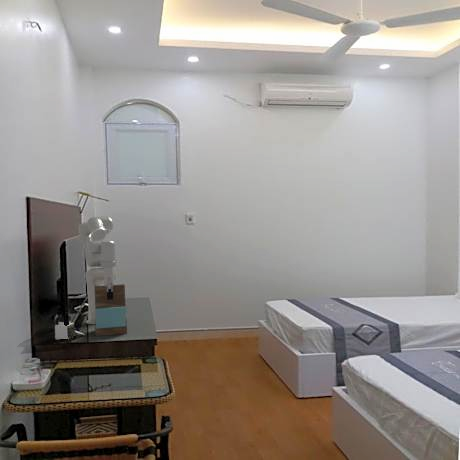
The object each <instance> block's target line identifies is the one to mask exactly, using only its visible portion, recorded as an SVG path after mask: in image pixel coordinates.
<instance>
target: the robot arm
mask: <svg viewBox="0 0 460 460" xmlns="http://www.w3.org/2000/svg"><path fill="white" fill-rule="evenodd" d="M113 228H114V222H113V219H112V218H111V217H110V216H92V217H89V219H88V220H86V222H82V223H79V226H78V235H79V238H80V241H81V243H82V244H83V248H84V256H85V257H84V258H85V263H86V266H87V267H88V268H90V269H88V270H86V272H85V282H86V287H87V304H88V306H87V308H88V319H87V320H86V324H87V325H95V288H94V286H102V285H103V286H104V287H105V286H106V285H107V300H112V299H113V290H112V286H113V285H115V284H114V283H115V282H116V281H117V271H116V267H117V262H116V261H117V258H116V243H115V241H113V240H105V238H106V237H107V235H109V234H110V233H111V232H112V230H113ZM111 291H112V292H111Z"/></svg>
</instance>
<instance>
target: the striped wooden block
mask: <svg viewBox="0 0 460 460" xmlns="http://www.w3.org/2000/svg"><path fill="white" fill-rule="evenodd" d="M125 285H126V284H125V283H124V284H114V285H113V286H112V290H113V299H112V300H107V285H106V286H105V287H104V285H100V286H94V288H95V309H100V308H113V307H125V311H126V309H127V308H126V287H125ZM111 292H112V291H111ZM126 312H127V311H126ZM94 331H95V337H101V336H102V335H103V336H112V335H114V336H115V335H124V334H128V323H127V317H126V326H122V327H110V328H98V329H96V320H95V324H94Z"/></svg>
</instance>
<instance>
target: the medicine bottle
mask: <svg viewBox="0 0 460 460" xmlns="http://www.w3.org/2000/svg"><path fill="white" fill-rule="evenodd" d="M68 319H69V325H67V326H65V325H64V317H63V316H62V314H59V315H58V317H57V320H58V321H57V322H58V324H55V325H54V334H55V336H54V338H55V340H60V339H68V340H70V339H72V338H74V337H73V336H75V337H76V329H75V323H74V322H72V319H71V314H69V315H68ZM71 337H72V338H71ZM69 338H70V339H69Z"/></svg>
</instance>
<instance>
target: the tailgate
mask: <svg viewBox="0 0 460 460" xmlns="http://www.w3.org/2000/svg"><path fill="white" fill-rule="evenodd" d="M125 307H126V306H125ZM125 307H113V308H100V309H95V320H96V329H98V328H110V327H122V326H126V318H127V311H125Z"/></svg>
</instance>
